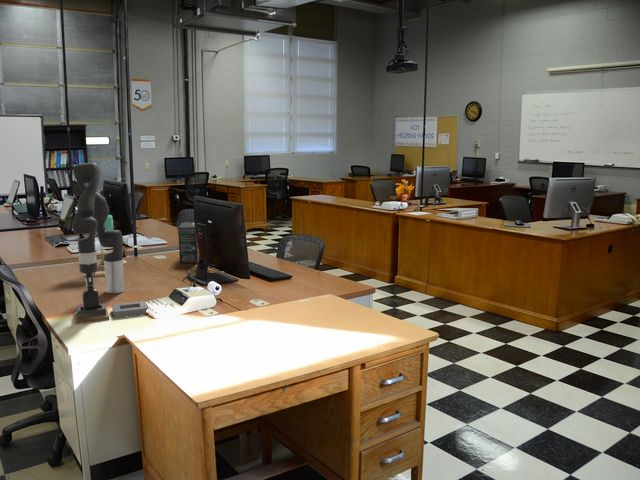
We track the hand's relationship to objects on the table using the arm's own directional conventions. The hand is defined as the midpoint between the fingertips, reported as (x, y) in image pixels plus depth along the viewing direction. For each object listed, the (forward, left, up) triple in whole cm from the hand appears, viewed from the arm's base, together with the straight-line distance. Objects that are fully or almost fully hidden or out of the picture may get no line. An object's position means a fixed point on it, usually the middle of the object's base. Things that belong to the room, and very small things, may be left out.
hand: (90, 295), depth 259 cm
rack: (0, 0, -10) cm, 10 cm away
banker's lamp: (-87, +11, -10) cm, 88 cm away
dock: (0, +17, -10) cm, 20 cm away
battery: (0, 0, -9) cm, 9 cm away
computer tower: (-101, +67, -10) cm, 121 cm away
